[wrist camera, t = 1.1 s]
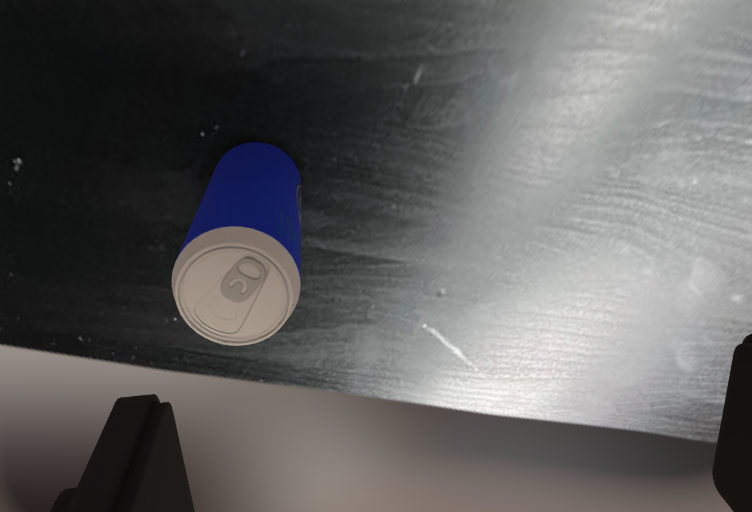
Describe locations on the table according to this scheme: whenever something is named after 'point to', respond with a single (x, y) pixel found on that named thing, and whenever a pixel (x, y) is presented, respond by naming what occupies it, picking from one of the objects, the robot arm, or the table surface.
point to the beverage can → (243, 248)
